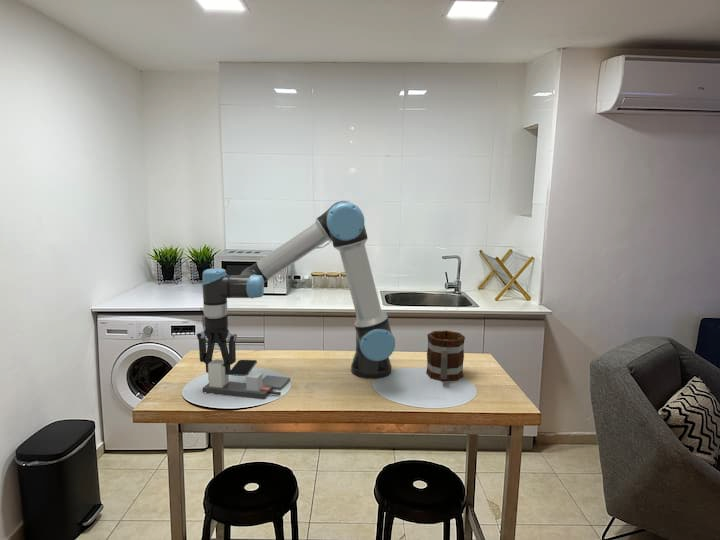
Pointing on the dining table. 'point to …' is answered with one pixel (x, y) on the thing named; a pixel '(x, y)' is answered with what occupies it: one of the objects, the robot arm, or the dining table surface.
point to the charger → (216, 373)
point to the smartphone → (243, 367)
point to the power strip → (241, 390)
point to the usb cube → (254, 381)
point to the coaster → (276, 381)
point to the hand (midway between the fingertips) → (218, 382)
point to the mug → (445, 356)
